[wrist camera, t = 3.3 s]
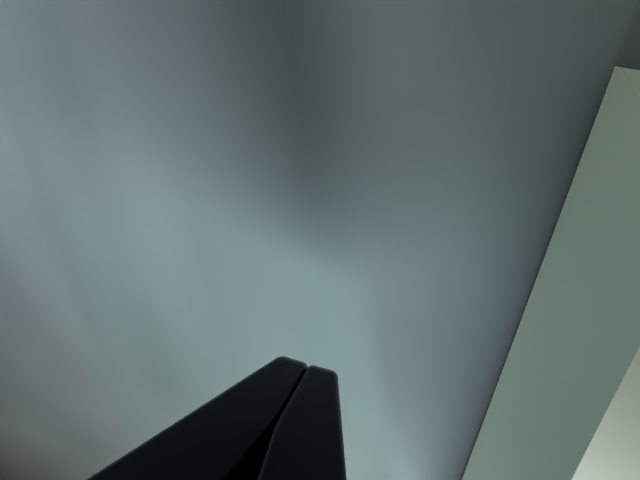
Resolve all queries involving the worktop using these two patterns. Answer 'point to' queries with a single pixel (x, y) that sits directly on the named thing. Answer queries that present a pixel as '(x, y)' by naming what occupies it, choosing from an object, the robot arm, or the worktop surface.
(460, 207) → the worktop surface
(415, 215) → the worktop surface
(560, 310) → the socket block
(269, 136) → the worktop surface
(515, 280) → the worktop surface
